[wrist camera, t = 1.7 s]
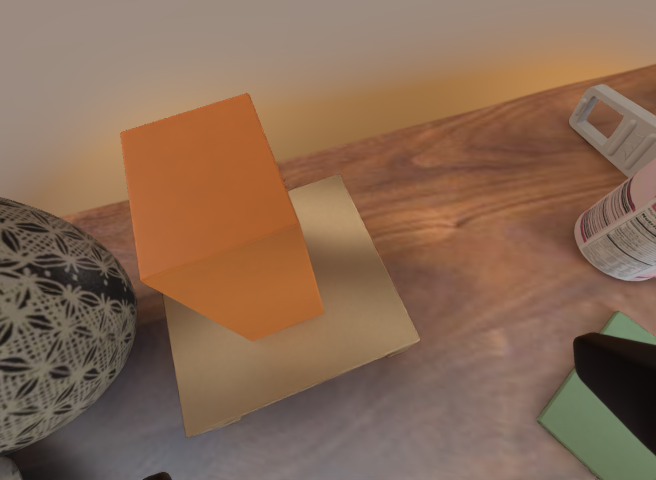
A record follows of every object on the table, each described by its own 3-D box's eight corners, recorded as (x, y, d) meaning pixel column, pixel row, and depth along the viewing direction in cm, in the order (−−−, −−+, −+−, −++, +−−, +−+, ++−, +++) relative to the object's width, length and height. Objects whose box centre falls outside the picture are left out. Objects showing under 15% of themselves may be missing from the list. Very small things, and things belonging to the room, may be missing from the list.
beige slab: (405, 351, 21) (421, 339, 16) (222, 427, 20) (185, 438, 15) (340, 212, 25) (339, 172, 21) (188, 266, 24) (152, 237, 20)
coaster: (703, 575, 16) (711, 579, 15) (535, 420, 19) (539, 420, 19) (774, 429, 18) (783, 429, 18) (614, 311, 21) (619, 310, 21)
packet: (324, 313, 17) (300, 224, 8) (251, 342, 17) (138, 282, 8) (294, 233, 19) (248, 91, 10) (228, 257, 19) (118, 131, 10)
